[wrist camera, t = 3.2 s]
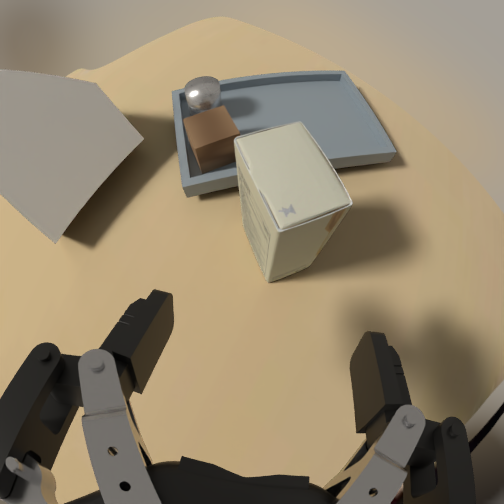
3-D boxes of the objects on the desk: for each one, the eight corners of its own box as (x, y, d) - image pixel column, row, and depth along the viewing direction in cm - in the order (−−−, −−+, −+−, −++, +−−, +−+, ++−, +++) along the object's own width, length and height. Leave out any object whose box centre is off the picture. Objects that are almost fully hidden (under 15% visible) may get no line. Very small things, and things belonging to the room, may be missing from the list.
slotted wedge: (120, 145, 33) (45, 61, 21) (144, 138, 25) (47, 26, 13) (54, 222, 30) (-26, 140, 18) (55, 243, 22) (-53, 132, 10)
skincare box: (311, 266, 24) (360, 209, 13) (266, 284, 24) (280, 240, 12) (282, 205, 26) (302, 116, 14) (240, 220, 26) (231, 135, 14)
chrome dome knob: (219, 99, 28) (216, 73, 24) (225, 119, 27) (222, 93, 23) (189, 105, 28) (183, 80, 24) (192, 126, 27) (185, 100, 23)
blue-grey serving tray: (339, 86, 31) (344, 70, 29) (386, 166, 28) (396, 151, 25) (176, 108, 30) (171, 91, 27) (189, 202, 26) (182, 187, 23)
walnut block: (226, 131, 27) (223, 105, 23) (241, 159, 26) (240, 133, 22) (190, 145, 26) (182, 119, 22) (202, 174, 25) (195, 149, 21)
